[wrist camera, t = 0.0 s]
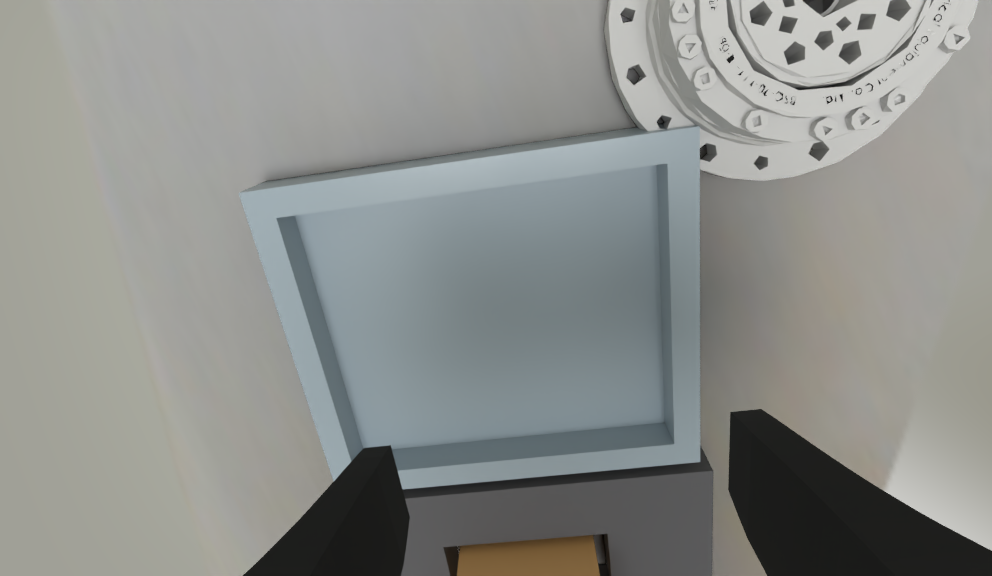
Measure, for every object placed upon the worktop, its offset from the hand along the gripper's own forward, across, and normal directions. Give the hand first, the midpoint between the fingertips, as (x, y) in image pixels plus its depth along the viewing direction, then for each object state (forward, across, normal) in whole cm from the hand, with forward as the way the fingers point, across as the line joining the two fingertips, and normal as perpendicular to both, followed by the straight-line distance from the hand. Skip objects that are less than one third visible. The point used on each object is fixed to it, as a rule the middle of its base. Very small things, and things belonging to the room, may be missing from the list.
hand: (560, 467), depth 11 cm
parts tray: (+10, +2, +1) cm, 10 cm away
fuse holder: (+10, +2, +13) cm, 17 cm away
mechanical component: (+10, -8, -8) cm, 16 cm away
